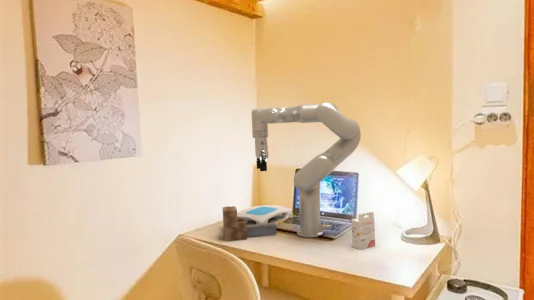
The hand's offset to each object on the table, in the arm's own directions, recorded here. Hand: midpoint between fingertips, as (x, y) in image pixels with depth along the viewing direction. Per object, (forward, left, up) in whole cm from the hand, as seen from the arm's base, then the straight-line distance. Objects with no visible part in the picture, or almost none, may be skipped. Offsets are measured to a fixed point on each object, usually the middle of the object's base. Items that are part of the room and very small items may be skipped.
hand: (261, 169), depth 185 cm
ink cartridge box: (-36, +35, -31) cm, 59 cm away
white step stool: (-2, -17, -31) cm, 35 cm away
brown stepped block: (+15, 0, -30) cm, 34 cm away
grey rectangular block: (+4, +7, -30) cm, 31 cm away
